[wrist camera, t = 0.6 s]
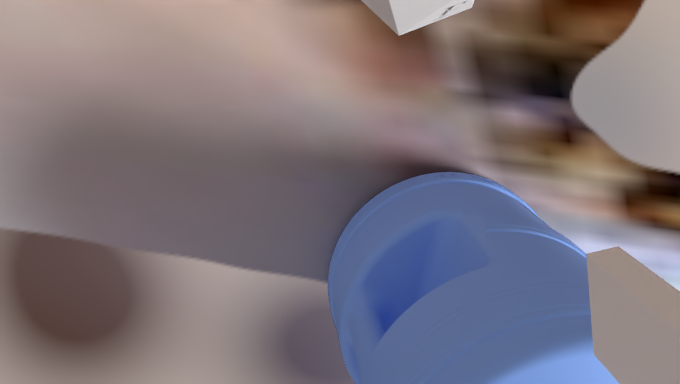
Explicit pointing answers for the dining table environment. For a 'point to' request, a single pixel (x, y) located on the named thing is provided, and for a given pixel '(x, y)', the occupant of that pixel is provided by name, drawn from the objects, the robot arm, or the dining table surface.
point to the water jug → (460, 290)
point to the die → (415, 12)
